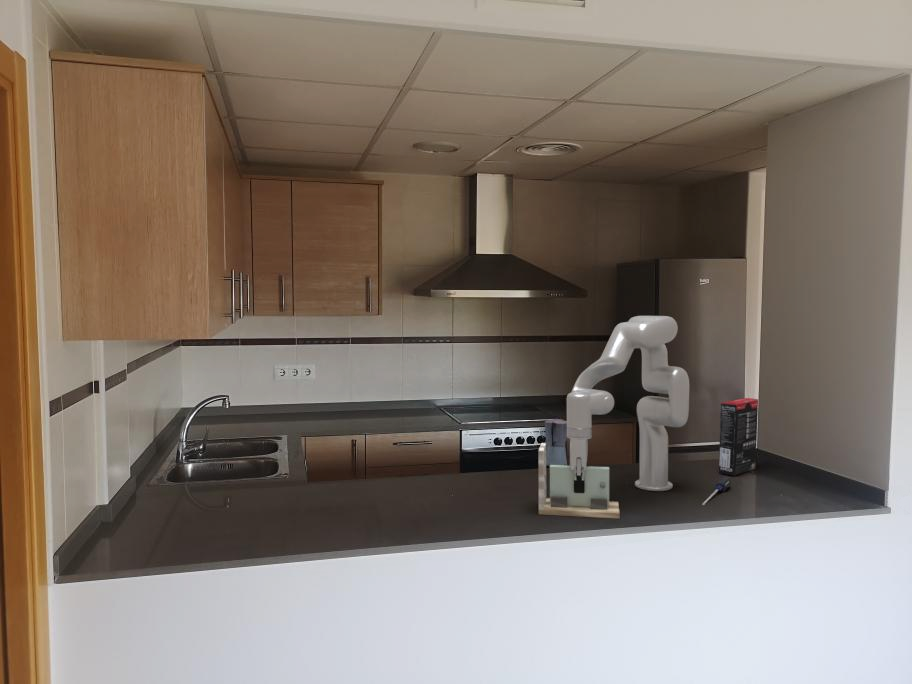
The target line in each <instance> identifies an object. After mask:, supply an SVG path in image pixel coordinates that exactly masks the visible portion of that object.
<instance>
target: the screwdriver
mask: <svg viewBox="0 0 912 684" xmlns="http://www.w3.org/2000/svg"><path fill="white" fill-rule="evenodd" d="M731 484H732V479H731V478H729V477H727V476H726V477H722V478H721V479H719V481H717V482H716V484H715V488H714V491H713V493H711V494H710V496H708V498H707V499H706V500H705V501H703V502H702V506H705V505H706V504H707V503H708V502H709V501H710V500H711V499H712V498H713V497H714V496H715V495H716V494H717V493H718V492H726V490H728V488H729V486H731Z"/></svg>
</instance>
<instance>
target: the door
mask: <svg viewBox="0 0 912 684" xmlns="http://www.w3.org/2000/svg"><path fill="white" fill-rule="evenodd" d="M576 470H577V468H576ZM581 470H582V468H581ZM574 471H575V468H574V470H572V471H571V470H570V465H568V464H567V465H550V466H549V498H550V505H551V496H553V497H567V506H584V507H591V498H595V499H607V508H609V501H610V467H609V466H591V465H590V466H589V465H588V466H587V465H586V470H585V471H584V480H585V492H584V493H574V480H575V472H574ZM576 473H577V472H576ZM581 473H582V472H581Z"/></svg>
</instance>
